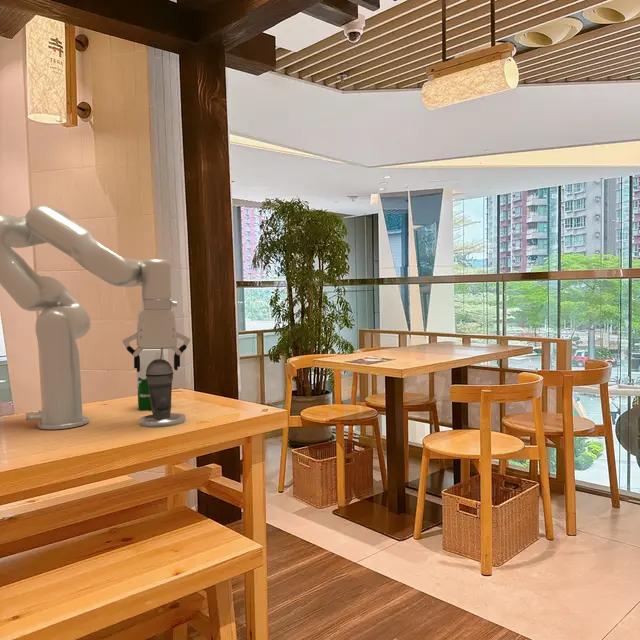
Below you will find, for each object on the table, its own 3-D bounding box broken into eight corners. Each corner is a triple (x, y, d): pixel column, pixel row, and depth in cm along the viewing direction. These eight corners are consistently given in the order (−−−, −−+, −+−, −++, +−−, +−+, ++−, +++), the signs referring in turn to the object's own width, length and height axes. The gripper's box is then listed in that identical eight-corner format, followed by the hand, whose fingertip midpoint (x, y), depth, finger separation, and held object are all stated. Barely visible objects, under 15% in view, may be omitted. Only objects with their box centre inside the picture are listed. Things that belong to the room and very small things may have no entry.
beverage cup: (155, 414, 164) (151, 341, 163) (180, 414, 162) (176, 341, 161) (142, 420, 156) (138, 344, 155) (168, 420, 155) (164, 343, 154)
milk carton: (173, 404, 183) (170, 340, 182) (162, 410, 174) (159, 342, 173) (146, 404, 184) (143, 340, 183) (133, 410, 176) (130, 343, 174)
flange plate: (139, 429, 151) (139, 424, 151) (138, 419, 163) (138, 415, 163) (187, 424, 155) (187, 419, 155) (183, 415, 167) (183, 411, 166)
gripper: (188, 305, 164) (188, 367, 165) (121, 305, 158) (122, 370, 159) (191, 306, 157) (191, 371, 157) (122, 306, 151) (123, 373, 152)
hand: (157, 370), depth 158 cm, fingers open, 9 cm apart
